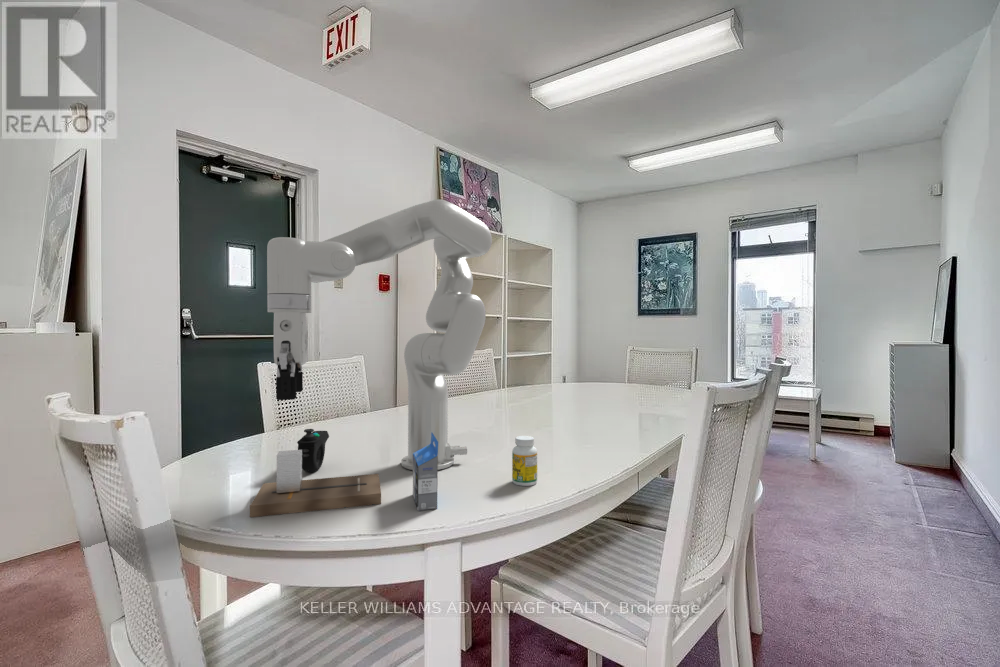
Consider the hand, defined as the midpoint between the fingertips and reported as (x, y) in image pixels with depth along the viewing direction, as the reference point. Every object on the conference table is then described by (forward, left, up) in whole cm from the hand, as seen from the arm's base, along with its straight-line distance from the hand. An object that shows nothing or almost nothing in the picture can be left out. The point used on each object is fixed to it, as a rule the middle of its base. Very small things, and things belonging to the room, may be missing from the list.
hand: (290, 395), depth 87 cm
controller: (-2, -20, -20) cm, 29 cm away
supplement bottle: (-46, +2, -20) cm, 51 cm away
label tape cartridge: (-24, +7, -20) cm, 33 cm away
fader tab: (0, 0, -18) cm, 18 cm away
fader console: (-5, 0, -20) cm, 21 cm away
